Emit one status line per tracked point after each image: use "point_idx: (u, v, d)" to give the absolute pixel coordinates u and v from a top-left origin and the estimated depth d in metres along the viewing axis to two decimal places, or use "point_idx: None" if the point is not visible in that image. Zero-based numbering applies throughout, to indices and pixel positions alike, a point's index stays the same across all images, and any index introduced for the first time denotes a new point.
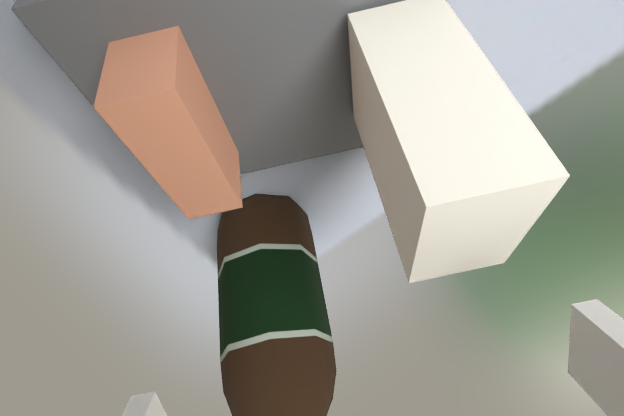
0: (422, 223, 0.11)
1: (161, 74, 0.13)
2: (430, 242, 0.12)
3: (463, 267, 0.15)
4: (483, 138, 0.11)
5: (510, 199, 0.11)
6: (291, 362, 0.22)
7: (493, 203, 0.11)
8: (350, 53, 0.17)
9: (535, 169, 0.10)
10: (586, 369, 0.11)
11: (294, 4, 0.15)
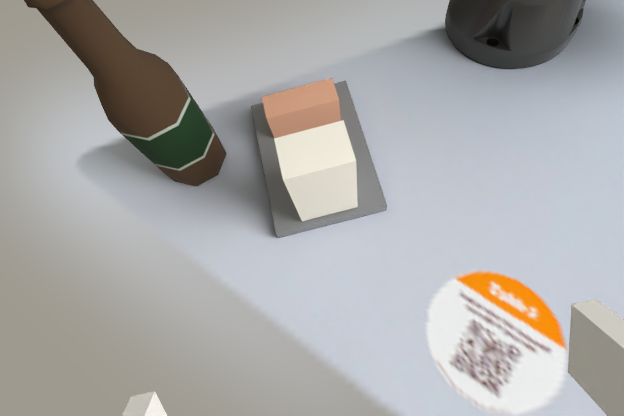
0: (332, 123, 0.30)
1: None
2: (316, 131, 0.30)
3: (284, 159, 0.30)
4: None
5: (344, 147, 0.29)
6: (176, 96, 0.33)
7: (342, 142, 0.30)
8: None
9: None
10: (586, 369, 0.11)
11: None
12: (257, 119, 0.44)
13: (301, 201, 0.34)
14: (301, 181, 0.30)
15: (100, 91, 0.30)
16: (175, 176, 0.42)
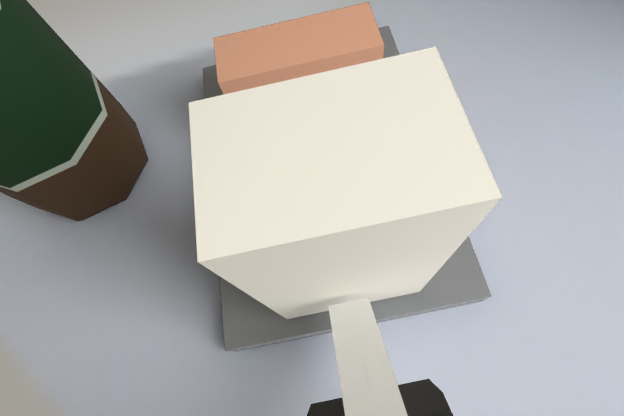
0: (395, 56, 0.09)
1: None
2: (339, 83, 0.08)
3: (215, 176, 0.08)
4: None
5: (446, 140, 0.08)
6: None
7: (437, 122, 0.08)
8: None
9: None
10: None
11: None
12: (211, 93, 0.22)
13: (280, 296, 0.12)
14: (276, 261, 0.08)
15: None
16: (26, 201, 0.20)
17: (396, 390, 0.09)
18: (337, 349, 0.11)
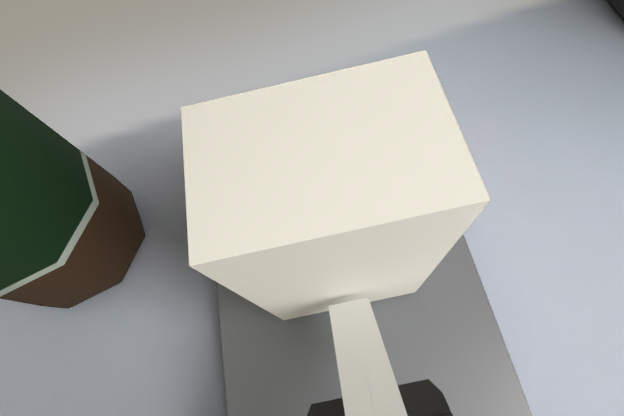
0: (386, 60, 0.09)
1: None
2: (329, 87, 0.09)
3: (207, 181, 0.08)
4: None
5: (435, 144, 0.08)
6: None
7: (426, 126, 0.08)
8: None
9: None
10: None
11: None
12: None
13: (275, 298, 0.12)
14: (268, 264, 0.08)
15: None
16: None
17: (396, 390, 0.09)
18: (337, 349, 0.11)
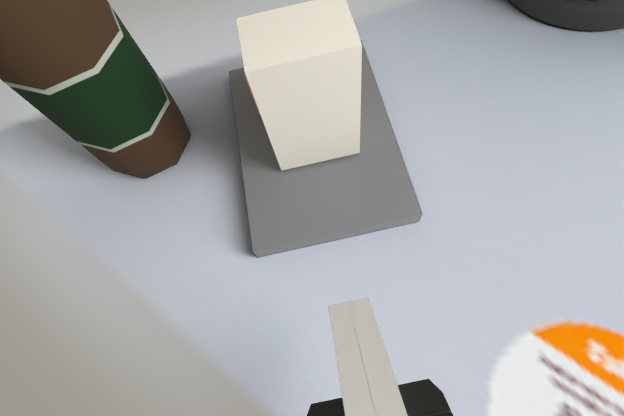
0: None
1: None
2: (301, 8, 0.20)
3: (250, 44, 0.19)
4: None
5: (343, 27, 0.19)
6: (92, 23, 0.20)
7: (340, 21, 0.19)
8: None
9: None
10: None
11: (366, 142, 0.28)
12: (236, 88, 0.31)
13: (277, 128, 0.23)
14: (275, 81, 0.19)
15: None
16: (112, 162, 0.29)
17: (396, 390, 0.09)
18: (337, 349, 0.11)
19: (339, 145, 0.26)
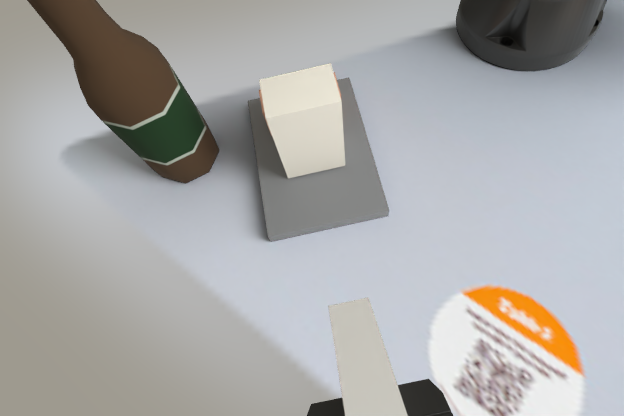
0: (319, 66, 0.30)
1: None
2: (302, 73, 0.30)
3: (268, 99, 0.29)
4: None
5: (330, 88, 0.29)
6: (163, 83, 0.30)
7: (328, 84, 0.29)
8: None
9: None
10: None
11: (350, 157, 0.38)
12: (253, 115, 0.42)
13: (285, 150, 0.33)
14: (285, 122, 0.29)
15: (79, 72, 0.28)
16: (163, 171, 0.39)
17: (396, 390, 0.09)
18: (337, 349, 0.11)
19: (330, 160, 0.36)
